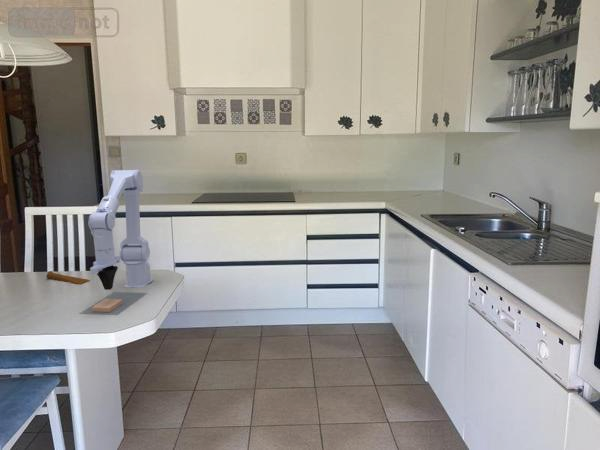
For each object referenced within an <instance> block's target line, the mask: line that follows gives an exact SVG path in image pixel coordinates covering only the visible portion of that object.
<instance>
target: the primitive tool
mask: <svg viewBox="0 0 600 450" xmlns="http://www.w3.org/2000/svg"><path fill="white" fill-rule="evenodd" d="M45 277H46V279H47V280H56V281H60V282H66V283H69V282H70V284H74V285H84V284H86V283H89V282H91V280H90V279H88V278H87V279H86V278H83V277H82V278H81V277H76V276H69V275H64V274H60V273H56V272H53V270H49V271H48V272H47V274H46V276H45Z"/></svg>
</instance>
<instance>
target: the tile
mask: <svg viewBox="0 0 600 450" xmlns="http://www.w3.org/2000/svg"><path fill="white" fill-rule="evenodd" d="M103 299H104V298H103ZM121 304H122V299H104V300H103V301H101V302H100V303H98V304H96V305H95V306H93V307H92V312H111V311H112V310H114V309H115V308H117V307H118V306H120V305H121Z"/></svg>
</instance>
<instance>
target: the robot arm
mask: <svg viewBox="0 0 600 450" xmlns="http://www.w3.org/2000/svg"><path fill="white" fill-rule="evenodd" d="M109 180H110V181H109V182H110V186H109V191H108V193H107V195H105V196H103V197H102V199H101V200H100V203H99V205H98V207H97V209H96V211H95V212H92V213H91V214H89V216H88V221H87V222H88V223H87V225H88V228H89V230H90V234H91V236H92V237H93V244H94V254H95V255H94V256H95V260H94V261H92V265H93V266H91V267H90V268H89V269H90V270H89V271H90V274H91V275H97V276H98V278H99V280H100V282H101V285H102V287H103V290H106V291H108V290H109V291H110V290H112V289H113V287H114V282H115V281H114V280H115V277H116V274H117V271H118V268H119V267H118V266H117V263H118V264H119V263H121V262H123V264H125V272H126V273H125V275H126V283H125V284H123V285H122V287H123V288H144V287H146V286H147V285H149V284H150V283H152V282H154V279H153V278H152V276H151V265H150V262H149V259H150V255H151V250H150V246H149V241H148V240H147V239H145V238H144V237H142V236H141V217H140V215H141V214H140V193H142V192H143V189H144V186H143V185H144V183H143V182H144V181H143V180H144V178H143V175H142V172H141V171H140V170H139V169H124V170H123V169H121V170H119V169H113V170H112V171H110V175H109ZM122 194H123V195H124V201H125V203H124V204H125V226H126V237H125V238H124V239H123V240H122V241H121V242H120V247H119V248H120V249H119V253H118V255H119V256H117V255H116V254H115V247H114V246H115V244H114V243H115V242H114V236H113V235H114V234H113V233H114V232H113V230H114V227H115V225H116V217H117V216H116V213H117V212H118V209H119V207H120V201H119V199H120V198H121V196H122Z"/></svg>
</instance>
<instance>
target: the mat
mask: <svg viewBox="0 0 600 450" xmlns="http://www.w3.org/2000/svg"><path fill="white" fill-rule="evenodd" d="M146 295H148V292H130V291H129V292H127V291H123V292H122V291H119V292H118V291H113V292H112V293H110V294H109V295H107V296H105V297H104V298H102V299H100V300H99V301H96V302H95V303H94V304H92V305H91V306H89V307H87V308H86V309H84V310H82V312H80V313H79V314H80V315H98V316H99V315H101V316H102V315H105V316H106V315H107V316H119V315H120V314H121V313H122V312H124V311H125V310H127V309H128V308H129V307H131V306H132V305H133V304H134V305H135V304H136V302H138V301H139V300H140V299H142V298H143V297H144V296H146ZM104 299H122V304H121V305H120V306H118V307H117V308H115V309H114V310H112V311H111V312H92V307H93V306H95V305H96V304H98V303H100V302H101V301H103V300H104Z"/></svg>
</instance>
